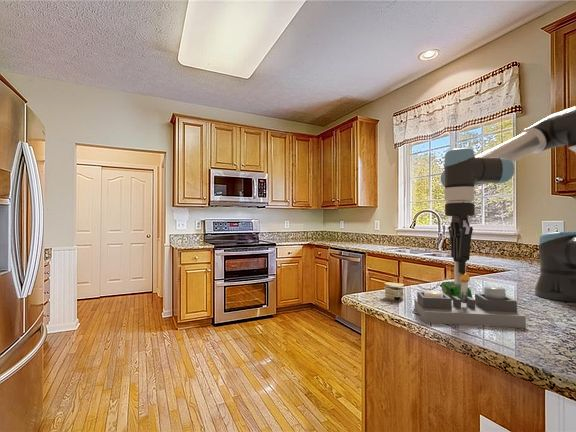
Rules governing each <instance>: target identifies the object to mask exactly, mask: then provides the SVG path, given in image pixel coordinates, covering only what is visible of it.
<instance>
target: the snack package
mask: <svg viewBox="0 0 576 432" xmlns="http://www.w3.org/2000/svg"><path fill="white" fill-rule="evenodd" d="M439 287H440V288H441V291H442V293H445V294H446V295H447V296H449V297H450V298H451V299H452V300H453V296H456V297H458V298H459V299H461V284H455V283H454V281H442V282H441V283H440V284H439ZM467 297H471V298H472V299H473V294H472V290H471V288H470V287H468V291H467Z"/></svg>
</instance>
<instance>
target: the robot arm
mask: <svg viewBox="0 0 576 432" xmlns="http://www.w3.org/2000/svg"><path fill="white" fill-rule="evenodd" d="M564 146H567V149H568V150H570V151H572V152H574V154H576V105H574V106H572V107H569V108H565V109H563V110H560V111H557V112H555V113H552V114H551V115H548V116H546V117H545V118H543V119H541V120H539V121H538V122H536V123H534V124H533V125H531V126H529V127H527V128H524V129H523V130H521V131H520V133H519V134H518V135H517V136H515V137H513V138H511V139H509V140H506V141H504V142H503V143H501V144H499V145H496V146H494V147H492V148H491V149H488V150H486V151H484V152H482V153H480V154H477V155H475V151H474V149H473V148H470V147H462V148H461V147H459V148H453V149H450V150H447V152H446V153H445V155H444V165H443V168H444V170H443V172H442V173H441V175H440V182H441V185H442V186H443V187H444V202H445V204H444V215H445V216H446V217H451V222H450V225H449V226H448V227H447V229H448V232H449V233H448V234H449V243H450V244H449V245H450V256H451V258H452V259H453V262H454V263H453V264H454V265H453V269H454V270H453V272H454V273H453V279H454V281H453V282H454V283H455V284H461V280H460V279H459V276H460V275H461V274H462V273H466V274H467V261H470V256H471V244H472V235H473V232H474V227H473V226H470V222H469V217H474V216H475V213H476V212H475V210H476V209H475V207H476V206H475V205H476V204H475V203H474V201H475V195H476V193H477V191H476V190H475V186H481V185H485V184H486V185H487V184H495V185H497V184H504V183H507V182H509V181H511V179H512V178H513V176H514V174H515V164H514V163H515V162H517V161H519V160H521V159H523V158H525V157H526V156H529V155H537V154H540V153H541V152H543V151H546V150H550V149H555V148H557V147H564ZM538 241H539V243H538V252H539V255H538V256H539V268H540V269H539V271H540V274H539V275H538V276H539V277H538V279H537V282H536V284H535V287H534V295H535V296H538V297H541V298H544V299H547V300H548V299H549V300H555V301H561V302H571V303H576V230H574V231H573V230H572V231H571V230H570V231H559V232H558V231H556V232H547V233H542V234H541V235H540V236H539V240H538Z"/></svg>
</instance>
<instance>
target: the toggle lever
mask: <svg viewBox="0 0 576 432" xmlns="http://www.w3.org/2000/svg"><path fill="white" fill-rule="evenodd" d="M459 279H460V280H461V303H467V291H468V288H469V286H468V283H469V282H470V280H471V277H470V275H469V274H468V273H467V272H466V273H462V274H461V275H460V276H459Z"/></svg>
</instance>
